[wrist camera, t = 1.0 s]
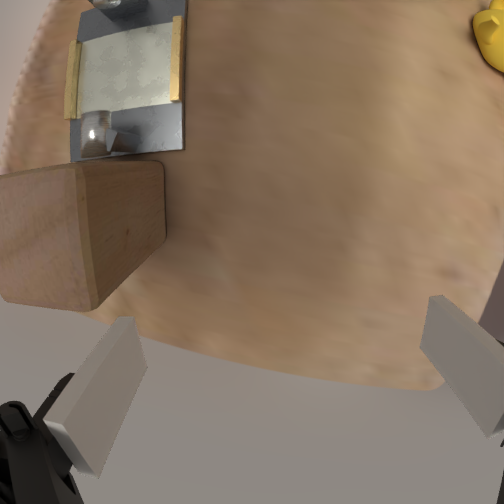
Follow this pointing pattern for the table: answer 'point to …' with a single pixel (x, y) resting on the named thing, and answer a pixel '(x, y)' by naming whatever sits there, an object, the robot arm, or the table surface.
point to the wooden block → (77, 230)
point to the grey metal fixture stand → (127, 79)
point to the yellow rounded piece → (491, 33)
